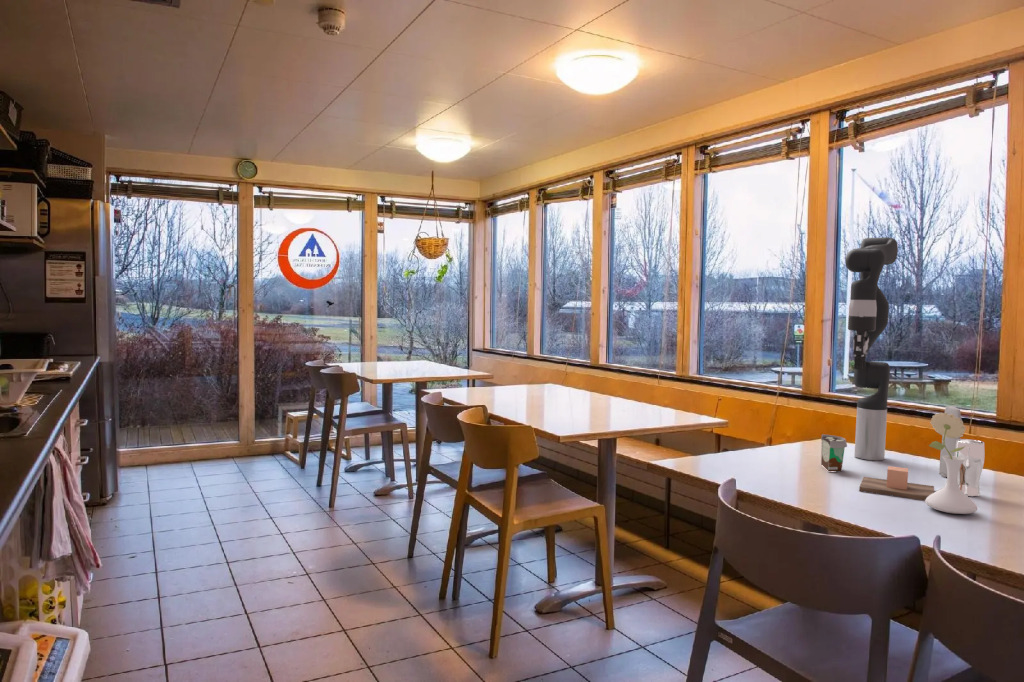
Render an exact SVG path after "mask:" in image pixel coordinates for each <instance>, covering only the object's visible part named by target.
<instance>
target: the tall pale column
mask: <svg viewBox="0 0 1024 682" xmlns="http://www.w3.org/2000/svg"><path fill="white" fill-rule="evenodd" d="M944 413H948V414H949V415H950V414H953V415H954V417H956V418H960V421H963V419H962V416H961V415H962V414H961V413H962V412H961V409H960V408H957V407H956V406H954V405H949V406H947V405H946V406H945V409H944ZM941 436H942V438H941V444H943V438H944V435H941ZM957 439H961V437H958V438H955V437H954V438H949V437H945V446H946V448H947V449H948V451H949V452H951V451H952V450H954V449H955V447H956V441H957ZM943 445H944V444H943ZM950 454H951V456H955V452H951V453H950ZM939 455H940V457H939V458H940V459H939V469H938V470H939V471H938V472H939V473H938V474H939V475H940V476H941V477H943V478H946V477H947V466H946V463H945V461H944V459H943V458H942V456H950V455H949V454H948V452H947V450H946V449H945V447H944V448H943V449H942V450H940V453H939Z"/></svg>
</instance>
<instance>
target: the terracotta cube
mask: <svg viewBox="0 0 1024 682" xmlns="http://www.w3.org/2000/svg"><path fill="white" fill-rule="evenodd" d="M908 479H909V468H907V467H898V466H892V465H891V466H890V465H888V466H887V475H886V480H887V487H890V488H897V489H905V490H907V483H909V480H908Z"/></svg>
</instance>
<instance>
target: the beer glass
mask: <svg viewBox="0 0 1024 682" xmlns="http://www.w3.org/2000/svg"><path fill="white" fill-rule="evenodd" d="M964 446H965V447H964ZM960 447H964V448H963V449H962V450H960V451H957V452H955V457H961V458H964V459H965V461H964V462H963V463H962V464H961V466H960V468H959V472H958V481H957V483H958V487H959V489H960V490H961V491H962V492H963V493H964V494H965V495H967V496H979V497H981V491H980V479H981V476H982V473H983V468H984V464H985V455H986V454H985V442H984V441H982V440H977V439H967V438H960V439H957V441H956V447H955V449H956V448H960Z"/></svg>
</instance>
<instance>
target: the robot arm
mask: <svg viewBox="0 0 1024 682" xmlns="http://www.w3.org/2000/svg"><path fill="white" fill-rule="evenodd" d="M898 246H899V245H898V241H897V240H896V239H895V238H893V237H884V236H883V237H867V238H866V237H865V238H863V239H862V240H861V243H860V246H859V247H860V248H859V247H858V248H852V249H851V250H849V251H848V252H847V254H846V256H845V259H844V261H845V266H846V268H847V270H848V271H850V272H851V273H859V276H860V278H859V279H858V280H854V281H852V282H851V284H850V296H849V297H850V300H849V305H848V320H847V321H848V322H847V329H848V330H849V331H855V332H856V333H855V334H854V336H853V338H852V340H853V341H852V342H853V346H852V349H853V357H854V364H853V366H854V367H853V368H854V371H853V382H854V386H855V387H857V388H863V389H874V390H876V389H877V391H876V392H875V393H874V394H871V395H869V396H865V397H861V398H858V399H857V401H856V405H857V406H856V421H855V422H856V423H855V439H854V440H855V441H854V454H853V455H854V457H855V458H858V459H862V460H868V461H883V460H885V456H886V454H885V453H886V440H887V439H886V435H887V422H888V421H887V418H888V417H887V416H888V398H889V396H888V394H889V386H890V385H889V384H890V378H891V367H890V364H889V363H888V362H886V361H885V362H884V361H870V360H869V361H868V360H867V361H866V357H867V355H868V353H869V350H870V349H871V347H872V346H873V344H874V343H875V342H876V341H877V340H878V338H879V337H880V336H881V334H882V333H883V332H884V330H885V329H886V327H887V326H888V323H889V313H890V311H889V309H890V305H889V304H890V303H889V302H888V299H887V298H886V296H885V294H884V293H883V292H882V291H883V290H882V289H881V288H880V287H879V286H878V284H879V279H880V276H881V274H882V271H883V268H884V266H887V265H889V266H890V265H893V264H894V263H895V262H896V261H897V258H898V250H899V247H898Z"/></svg>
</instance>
